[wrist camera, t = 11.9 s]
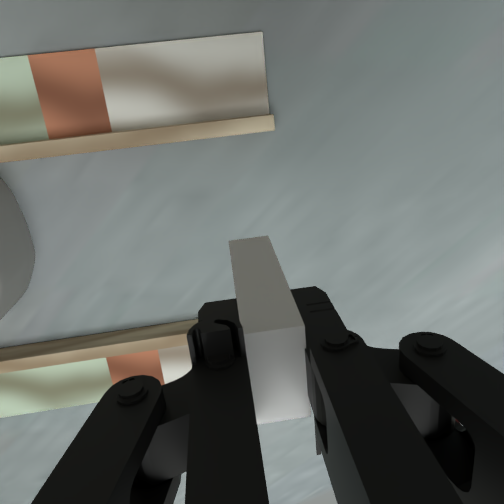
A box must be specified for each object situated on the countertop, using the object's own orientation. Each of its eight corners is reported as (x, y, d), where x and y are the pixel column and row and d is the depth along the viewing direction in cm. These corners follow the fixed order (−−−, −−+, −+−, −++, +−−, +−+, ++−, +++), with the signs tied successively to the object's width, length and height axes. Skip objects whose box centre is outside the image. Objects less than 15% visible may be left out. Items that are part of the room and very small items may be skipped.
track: (-252, 84, 31) (-332, 81, 27) (261, 32, 34) (271, 21, 29) (-89, 429, 42) (-125, 470, 38) (290, 368, 45) (301, 399, 40)
